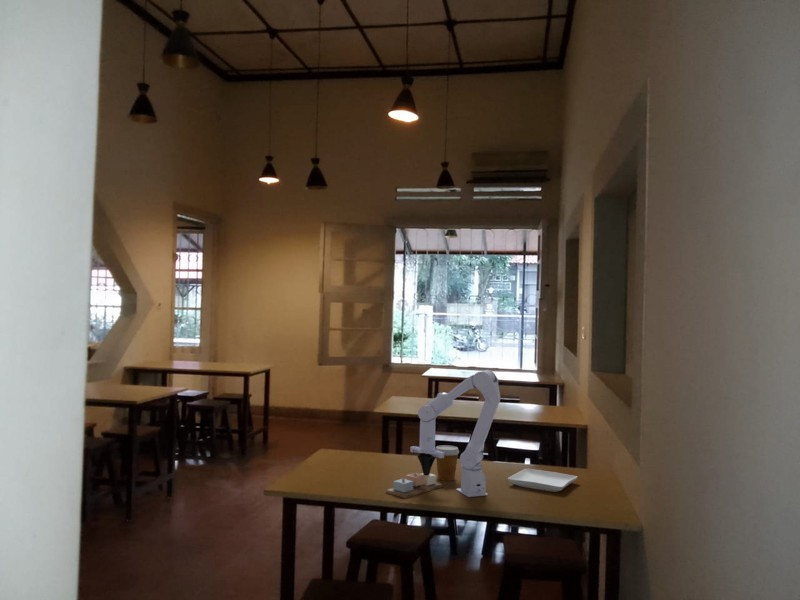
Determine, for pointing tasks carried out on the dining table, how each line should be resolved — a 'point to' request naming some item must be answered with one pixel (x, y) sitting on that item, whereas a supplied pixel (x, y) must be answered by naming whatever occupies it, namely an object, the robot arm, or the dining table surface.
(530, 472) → the salad plate
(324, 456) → the dining table surface
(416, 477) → the key two
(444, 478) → the disposable coffee cup
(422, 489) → the board
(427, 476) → the key one
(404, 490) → the key three
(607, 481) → the dining table surface
